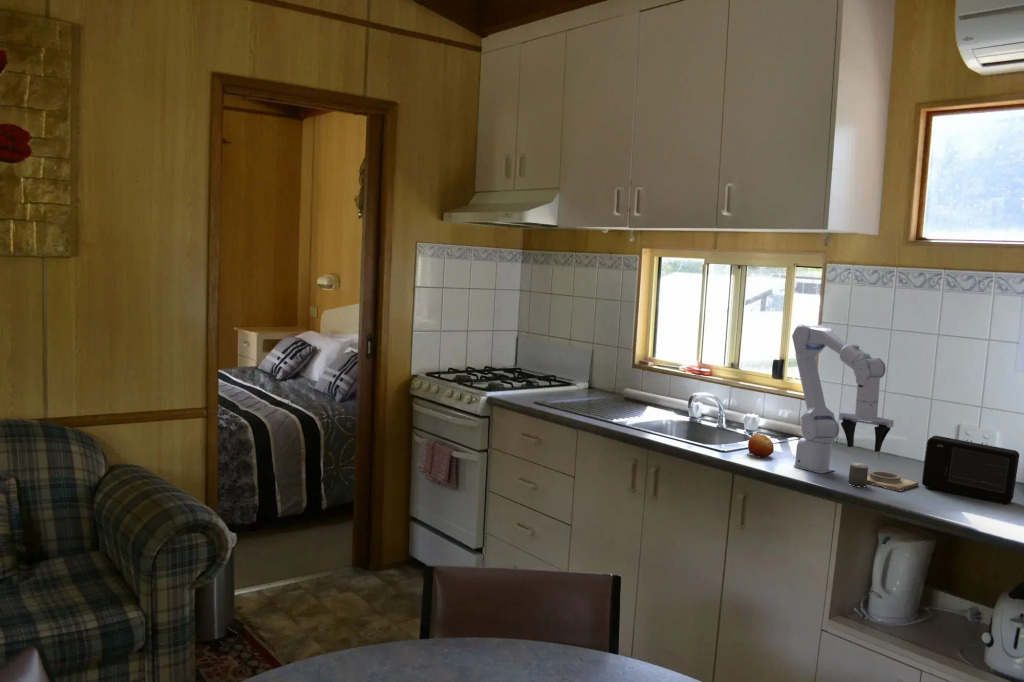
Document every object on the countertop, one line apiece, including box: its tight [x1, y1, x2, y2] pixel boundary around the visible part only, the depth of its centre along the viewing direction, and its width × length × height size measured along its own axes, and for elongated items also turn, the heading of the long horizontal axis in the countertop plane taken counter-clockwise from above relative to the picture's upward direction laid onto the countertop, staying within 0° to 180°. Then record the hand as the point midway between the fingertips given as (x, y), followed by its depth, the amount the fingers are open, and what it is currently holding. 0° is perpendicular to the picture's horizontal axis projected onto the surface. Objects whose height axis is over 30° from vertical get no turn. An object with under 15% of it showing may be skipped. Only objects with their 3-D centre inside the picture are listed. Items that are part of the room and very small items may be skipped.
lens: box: [847, 462, 869, 488], centre depth 240 cm, size 5×5×6 cm
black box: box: [921, 435, 1020, 505], centre depth 236 cm, size 23×10×15 cm, turn 50°
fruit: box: [746, 433, 774, 459], centre depth 269 cm, size 8×8×8 cm
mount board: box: [867, 470, 919, 492], centre depth 244 cm, size 14×12×2 cm
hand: (863, 449), depth 238 cm, fingers open, 7 cm apart
